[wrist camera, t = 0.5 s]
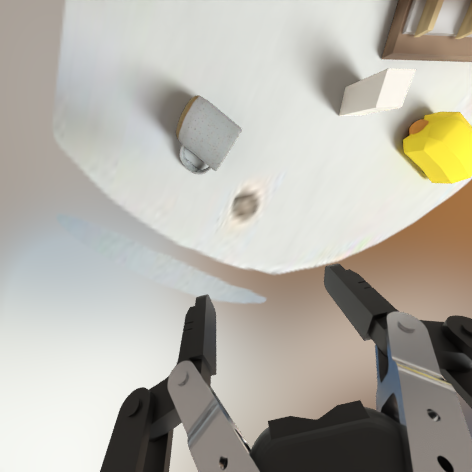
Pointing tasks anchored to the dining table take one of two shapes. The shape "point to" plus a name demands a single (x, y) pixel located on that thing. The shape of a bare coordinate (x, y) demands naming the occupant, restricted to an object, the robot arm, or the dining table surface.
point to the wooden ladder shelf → (431, 31)
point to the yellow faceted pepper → (441, 146)
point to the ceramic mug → (205, 134)
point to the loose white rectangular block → (377, 92)
